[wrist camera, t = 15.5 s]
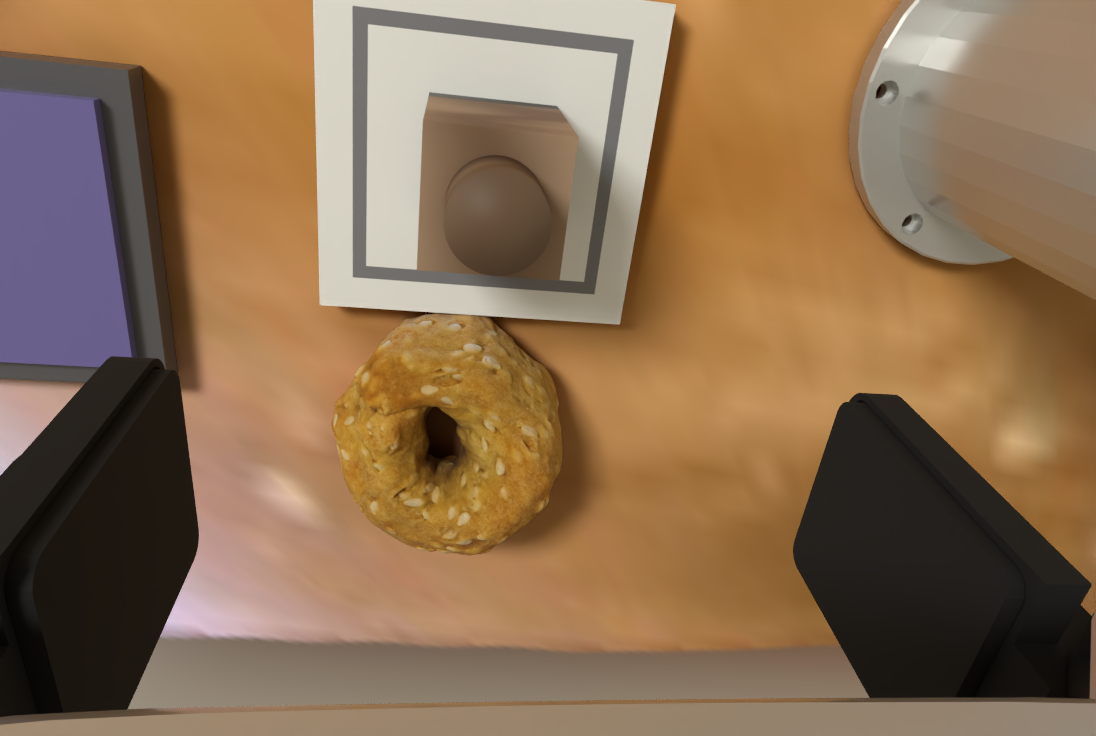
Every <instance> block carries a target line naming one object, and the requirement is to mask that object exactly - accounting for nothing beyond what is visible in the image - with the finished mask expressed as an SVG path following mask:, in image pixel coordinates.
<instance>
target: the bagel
mask: <svg viewBox="0 0 1096 736" xmlns="http://www.w3.org/2000/svg"><path fill="white" fill-rule="evenodd" d="M335 406H336V409H335V413H334V417H333V420H332V429H333V432H334V434H335V437H336V442H337V450H338V453H339V456H340V461H341V471H342V473H343V475H344V479H345V481H346V485H347V487H348V489H349V491H350V493H351V495H352V498H353V500H354V501H355V502H356V503H358V504H359V507H360V509H361V511H362V512H363V513H364V514H365V516H366V518H367V519H368V520H369V521H370V522H371V523H372V524H374V525H375V526H377V527H378V528H380V529H381V530H383V531H384V532H386V533H387V534H388V535H390V536H392V537H394V538H396V539H397V540H399V541H401V542H402V543H405V544H407V545H410V546H412V547H415V548H417V549H419V550H424V551H430V552H433V551H439V552H443V553H458V554H463V555H475V554H483V553H486V552H489V551H490V550H491V549H492V548H493V547H494V546H496V545H498V544H500V543H502V542H503V541H505V540H506V539H507V538H509V537H511V536H512V535H513V534H514V533H515V532H517V531H518V530H520V529H521V528H522V527H524V526H525V525H526V524H527V523H528V522H530V521H531V520H532V519H533V518H534V517H535V516H536V515H537V514H538V513H539V512H540V511H541V510H543V509H544V508H545V507H546V506H547V504H548V502H549V499H550V498H549V494H550V491H551V489H552V486H553V483H554V481H555V479H556V477H557V476H558V474H559V472H560V469H561V462H562V441H561V426H560V420H559V416H558V407H559V401H558V398H557V393H556V388H555V384H554V382H553V379H552V377H551V375H550V373H549V372H548V370H547V369H546V368H545V367H544V366H543V365H542V364H540V363H539V362H536V361H535V360H533V359H532V358H531V357H530V356H529V355H528V354H526V353H525V352H524V351H523V350H522V349H521V348H519V347H518V346H517V345H516V344H515V342H514V341H513V339H512V337H510V336H509V335H507V334H506V333H505V332H504V331H503V330H502V329H501V328H499V327H498V326H497V325H496V324H495V323H494V321H493V320H492V319H491V318H490V317H488V316H480V315H465V314H450V313H434V314H426V315H423V316H419V317H416V318H409V319H406V320H404V321H403V322H402V323H401V324H400V325H399V326H398V327H397V328H396V329H394V330H393V331H392V332H391V333H390V334H388V336H387V337H386V339H384V340H383V341H382V342H381V343H380V345H379V346H378V347H377V349H376V351H375V352H374V354H373V355H372V357H371V358H370V359H369V361H368V362H366V363H365V364H363V365H362V366H361V367H360V368H359V369H358V371H357V372H356V374H355V378H354V379H353V381H352V384H351V385H350V387H349V388H348V389H347V391H346V392H345V393H344V394H343V395H342V396H341V397H340V398H339V399H338V400H337V402H336V405H335ZM433 407H438V408H440V409H441V410H442V411H443V412H444V413H446V414H448V415H449V416H450V417H451V418H453V419H454V420H455V421H456V423H457V428H456V432H457V435H458V436H459V438H460V441H461V443H462V449H461V451H460V454H459V456H448V457H444V458H440V459H436V458H434V457H433V456H432V455H430V454H428V453H427V451H428V449H429V445H430V440H429V434H428V431H427V429H426V423H427V419H428V414H429V412H430V410H431V409H432V408H433Z"/></svg>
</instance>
